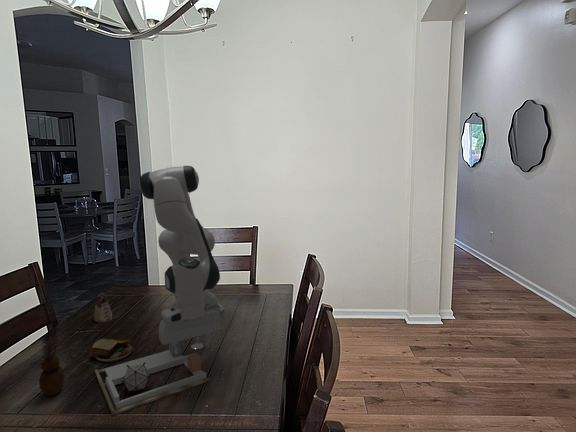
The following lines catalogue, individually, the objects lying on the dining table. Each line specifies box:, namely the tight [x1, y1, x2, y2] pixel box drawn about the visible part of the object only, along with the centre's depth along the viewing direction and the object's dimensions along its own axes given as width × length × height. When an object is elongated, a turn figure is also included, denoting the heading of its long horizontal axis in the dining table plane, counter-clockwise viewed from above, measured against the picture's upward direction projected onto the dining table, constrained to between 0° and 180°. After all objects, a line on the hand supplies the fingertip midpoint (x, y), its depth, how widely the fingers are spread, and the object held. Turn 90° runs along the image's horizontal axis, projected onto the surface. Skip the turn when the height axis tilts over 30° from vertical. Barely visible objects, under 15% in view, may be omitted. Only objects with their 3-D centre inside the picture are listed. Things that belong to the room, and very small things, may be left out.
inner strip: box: [104, 341, 184, 379], centre depth 131 cm, size 24×8×6 cm, turn 126°
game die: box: [121, 362, 152, 395], centre depth 118 cm, size 9×8×10 cm
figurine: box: [93, 292, 113, 324], centre depth 169 cm, size 7×7×12 cm
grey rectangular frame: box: [104, 352, 207, 410], centre depth 122 cm, size 27×14×5 cm, turn 126°
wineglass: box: [190, 336, 204, 350], centre depth 145 cm, size 7×7×12 cm
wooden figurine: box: [38, 342, 66, 397], centre depth 116 cm, size 7×6×15 cm
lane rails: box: [94, 349, 210, 416], centre depth 125 cm, size 29×26×1 cm
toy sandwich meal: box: [89, 338, 133, 363], centre depth 140 cm, size 12×14×5 cm
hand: (191, 349), depth 127 cm, fingers open, 8 cm apart
